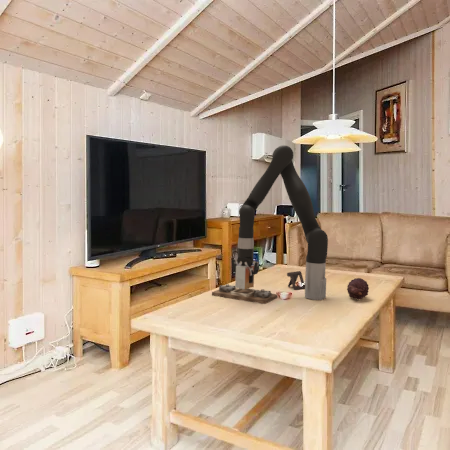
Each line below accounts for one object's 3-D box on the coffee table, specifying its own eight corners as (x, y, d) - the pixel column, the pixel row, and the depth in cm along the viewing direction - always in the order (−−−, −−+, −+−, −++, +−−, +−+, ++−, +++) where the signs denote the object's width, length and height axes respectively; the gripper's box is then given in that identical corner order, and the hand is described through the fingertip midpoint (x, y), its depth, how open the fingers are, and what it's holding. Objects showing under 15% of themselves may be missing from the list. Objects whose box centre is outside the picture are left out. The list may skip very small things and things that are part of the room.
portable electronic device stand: (295, 290, 219) (296, 274, 218) (284, 287, 225) (285, 271, 225) (307, 288, 224) (307, 272, 223) (296, 285, 230) (297, 270, 230)
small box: (244, 289, 199) (245, 267, 198) (234, 287, 202) (235, 265, 201) (254, 286, 205) (254, 265, 204) (244, 285, 209) (245, 263, 208)
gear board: (277, 297, 203) (277, 288, 203) (264, 303, 191) (265, 294, 191) (226, 289, 217) (226, 281, 217) (211, 295, 205) (212, 286, 205)
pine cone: (347, 293, 214) (348, 274, 213) (368, 295, 211) (369, 275, 210) (345, 301, 197) (346, 280, 197) (368, 304, 194) (369, 282, 193)
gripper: (262, 247, 202) (261, 282, 203) (236, 245, 209) (235, 278, 210) (255, 249, 195) (254, 285, 197) (228, 246, 203) (227, 281, 204)
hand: (244, 281), depth 204 cm, fingers closed on small box, 6 cm apart
